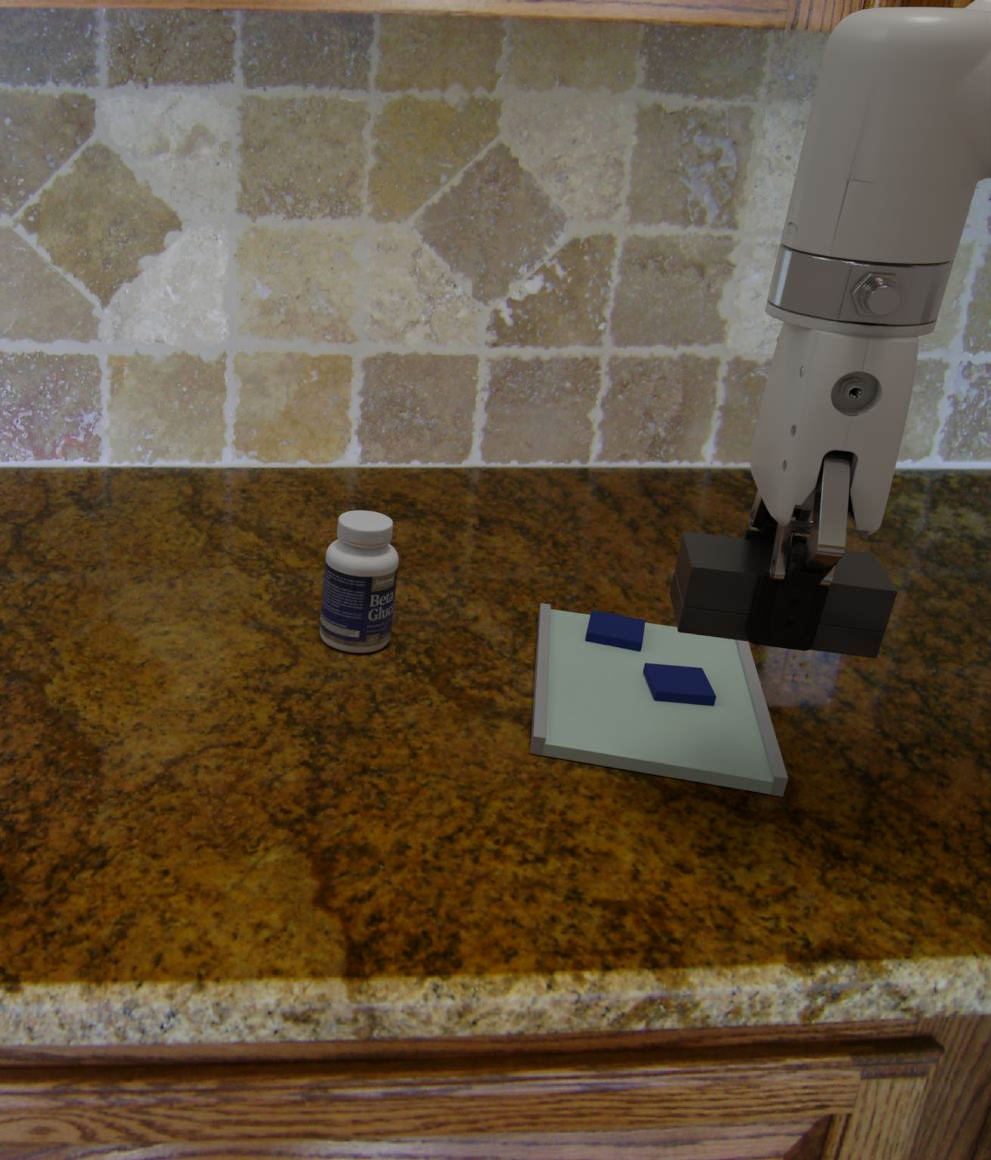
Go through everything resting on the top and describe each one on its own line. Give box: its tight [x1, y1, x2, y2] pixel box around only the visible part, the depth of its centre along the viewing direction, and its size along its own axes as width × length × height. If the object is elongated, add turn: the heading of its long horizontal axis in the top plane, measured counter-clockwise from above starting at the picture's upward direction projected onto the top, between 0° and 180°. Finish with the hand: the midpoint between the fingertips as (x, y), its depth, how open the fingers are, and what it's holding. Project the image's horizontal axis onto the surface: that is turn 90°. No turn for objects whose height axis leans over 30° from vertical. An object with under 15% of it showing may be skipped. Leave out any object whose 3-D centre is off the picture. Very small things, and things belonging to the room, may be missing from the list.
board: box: [529, 602, 789, 798], centre depth 82 cm, size 15×20×1 cm
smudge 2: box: [643, 663, 716, 706], centre depth 81 cm, size 4×4×1 cm
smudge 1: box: [585, 609, 646, 651], centre depth 88 cm, size 4×4×1 cm
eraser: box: [669, 531, 899, 659], centre depth 64 cm, size 10×5×4 cm, turn 76°
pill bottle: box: [319, 509, 400, 654], centre depth 87 cm, size 5×5×10 cm
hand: (769, 617), depth 64 cm, fingers closed on eraser, 5 cm apart
